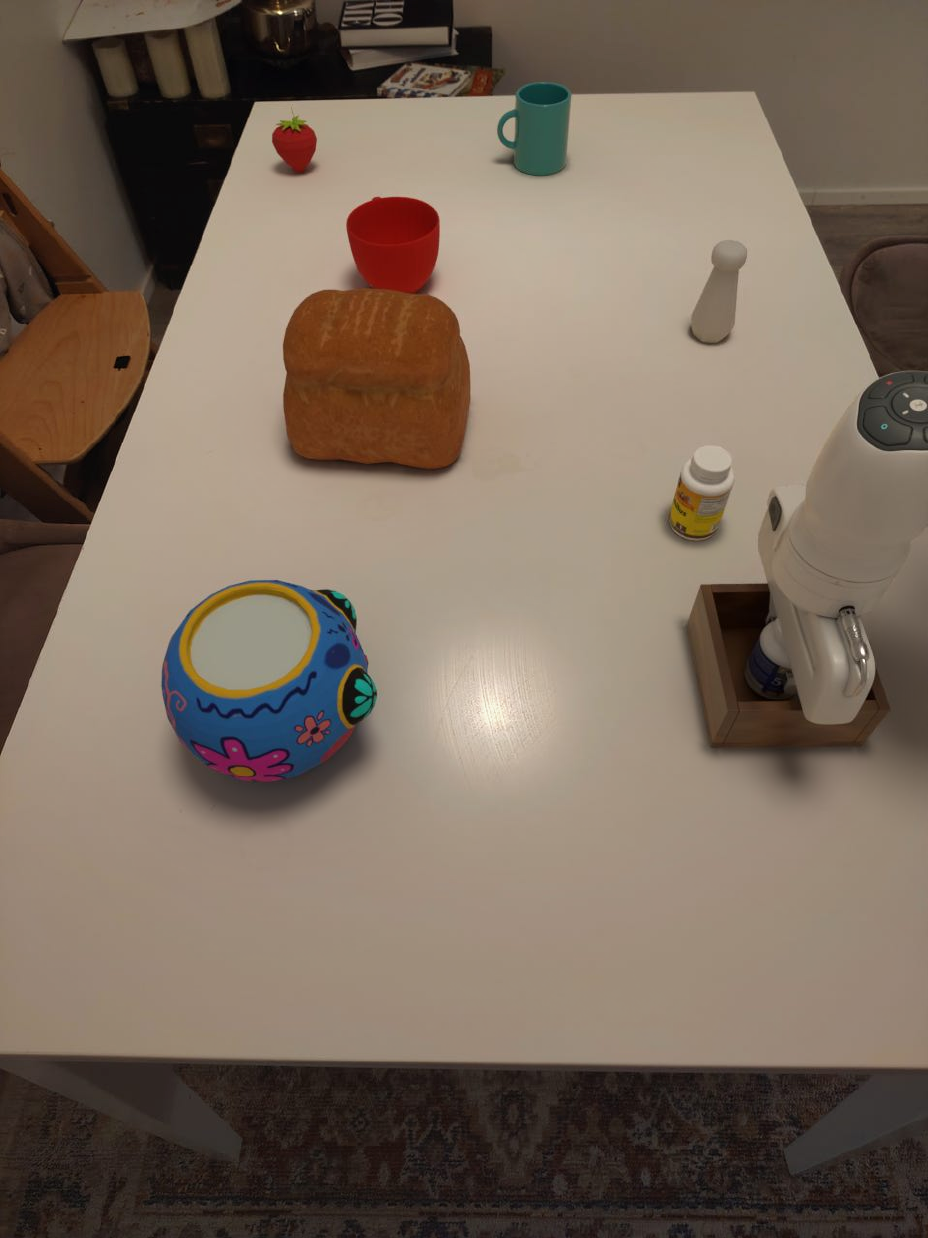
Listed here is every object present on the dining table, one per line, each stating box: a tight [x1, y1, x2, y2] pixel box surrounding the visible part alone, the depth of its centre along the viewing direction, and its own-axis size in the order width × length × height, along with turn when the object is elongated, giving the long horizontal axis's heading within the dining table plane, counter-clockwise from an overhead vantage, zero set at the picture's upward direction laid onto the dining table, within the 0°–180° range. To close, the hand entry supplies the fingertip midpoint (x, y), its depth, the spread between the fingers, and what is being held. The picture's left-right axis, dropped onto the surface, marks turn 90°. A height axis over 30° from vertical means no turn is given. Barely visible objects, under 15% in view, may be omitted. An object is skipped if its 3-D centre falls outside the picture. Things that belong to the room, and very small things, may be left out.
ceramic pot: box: [160, 579, 378, 783], centre depth 73 cm, size 18×18×15 cm
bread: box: [282, 287, 472, 470], centre depth 97 cm, size 18×22×17 cm
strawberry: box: [271, 107, 318, 174], centre depth 138 cm, size 6×8×10 cm
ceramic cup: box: [345, 196, 441, 294], centre depth 119 cm, size 13×17×10 cm
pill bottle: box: [744, 617, 792, 700], centre depth 76 cm, size 5×5×9 cm
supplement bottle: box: [668, 444, 735, 542], centre depth 89 cm, size 6×6×10 cm
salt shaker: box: [690, 239, 748, 344], centre depth 108 cm, size 6×6×13 cm
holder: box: [686, 582, 892, 748], centre depth 78 cm, size 14×14×7 cm
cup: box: [496, 81, 572, 177], centre depth 138 cm, size 9×12×11 cm
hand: (782, 657), depth 77 cm, fingers closed on pill bottle, 5 cm apart
